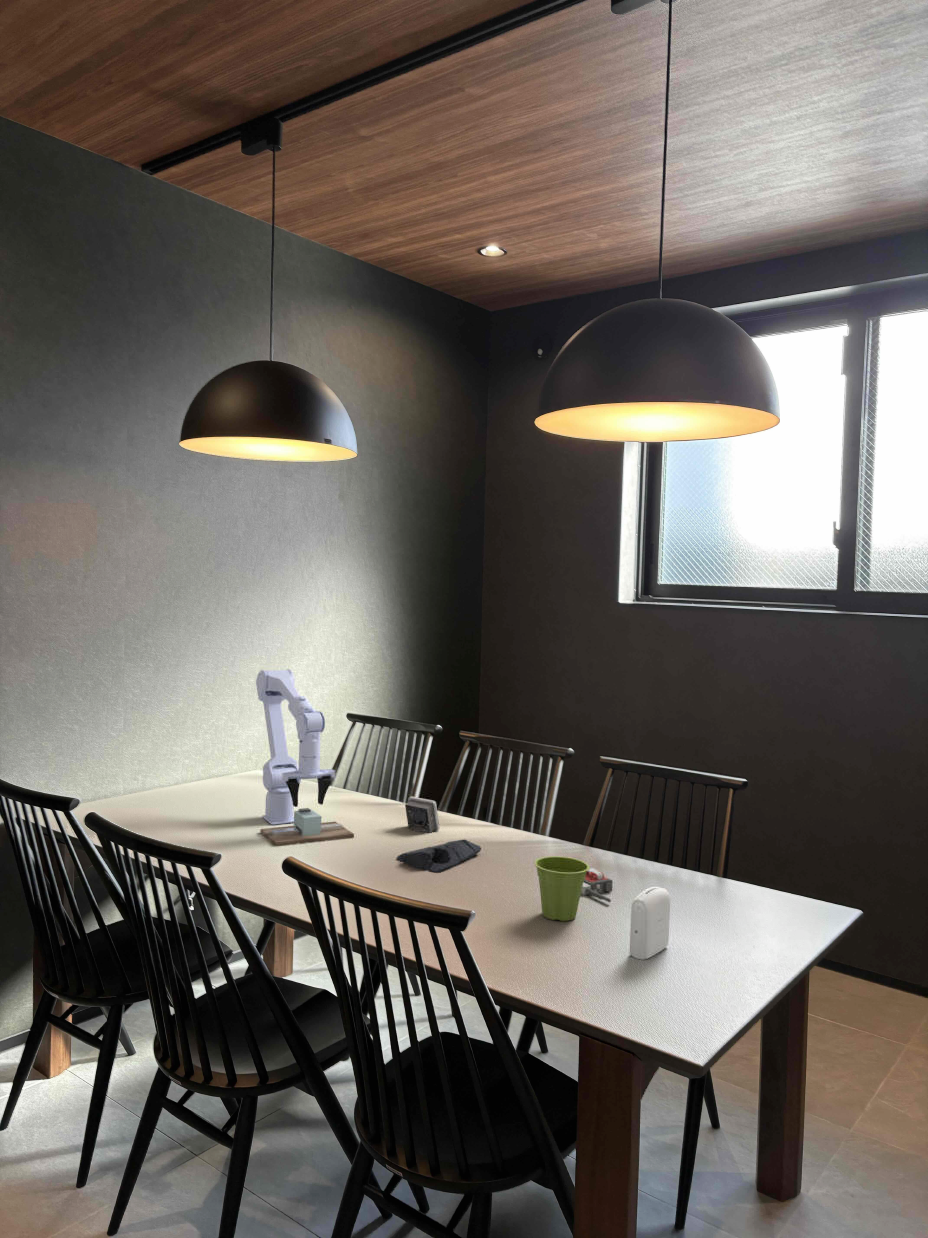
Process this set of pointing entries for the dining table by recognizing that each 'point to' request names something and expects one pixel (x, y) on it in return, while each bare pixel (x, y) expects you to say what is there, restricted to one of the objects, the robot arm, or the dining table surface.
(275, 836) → the rail board
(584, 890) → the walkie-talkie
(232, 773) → the dining table surface
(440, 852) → the dark slate chunk
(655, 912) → the photo printer
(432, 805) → the electrical switch
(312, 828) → the module
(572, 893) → the plant pot
